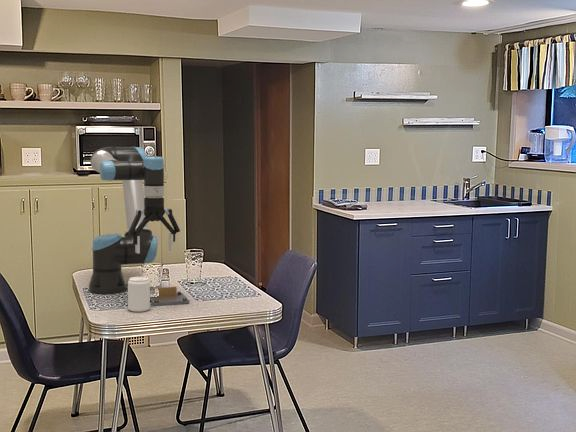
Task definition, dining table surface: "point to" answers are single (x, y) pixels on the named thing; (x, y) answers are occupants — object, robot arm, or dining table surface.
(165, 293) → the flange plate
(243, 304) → the dining table surface
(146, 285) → the beverage can
